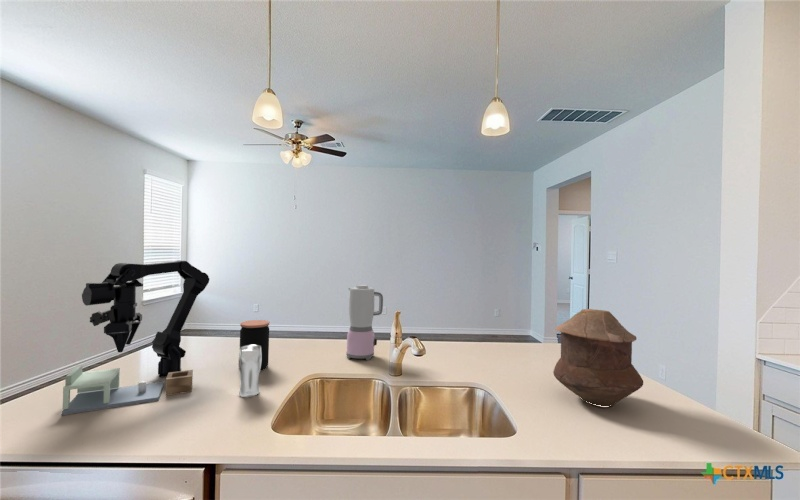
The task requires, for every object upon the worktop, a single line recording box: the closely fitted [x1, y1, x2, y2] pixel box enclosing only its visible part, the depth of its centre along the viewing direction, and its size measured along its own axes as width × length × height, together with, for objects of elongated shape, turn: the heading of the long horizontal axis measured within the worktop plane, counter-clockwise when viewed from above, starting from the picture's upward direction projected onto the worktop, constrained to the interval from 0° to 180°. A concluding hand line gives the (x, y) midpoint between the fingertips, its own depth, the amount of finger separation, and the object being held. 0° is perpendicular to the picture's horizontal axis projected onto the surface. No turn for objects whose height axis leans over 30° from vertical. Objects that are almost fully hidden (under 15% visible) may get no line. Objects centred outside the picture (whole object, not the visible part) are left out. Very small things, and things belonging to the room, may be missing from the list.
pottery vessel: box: [552, 308, 644, 406], centre depth 115 cm, size 26×26×30 cm
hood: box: [62, 364, 121, 410], centre depth 104 cm, size 10×13×9 cm
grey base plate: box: [61, 380, 165, 416], centre depth 107 cm, size 22×14×4 cm, turn 119°
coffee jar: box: [239, 319, 270, 372], centre depth 137 cm, size 11×11×18 cm
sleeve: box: [165, 369, 194, 396], centre depth 115 cm, size 7×7×5 cm
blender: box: [345, 284, 384, 361], centre depth 155 cm, size 16×12×32 cm
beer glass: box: [237, 345, 262, 398], centre depth 113 cm, size 7×7×15 cm
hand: (124, 348), depth 115 cm, fingers open, 9 cm apart
